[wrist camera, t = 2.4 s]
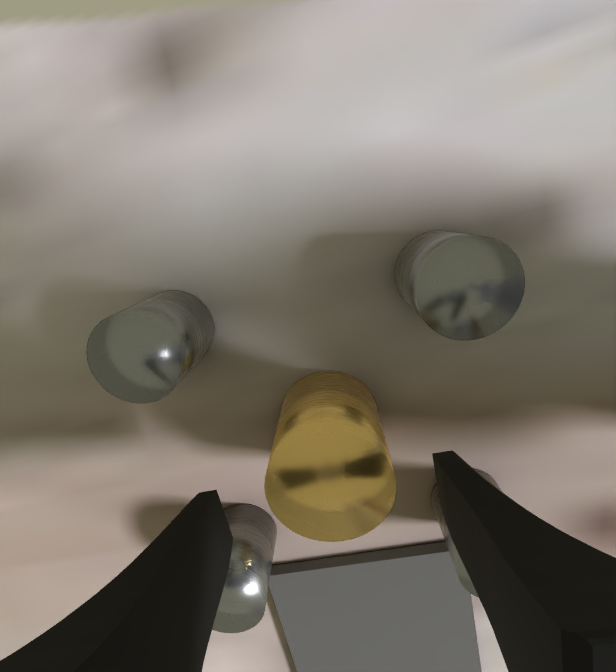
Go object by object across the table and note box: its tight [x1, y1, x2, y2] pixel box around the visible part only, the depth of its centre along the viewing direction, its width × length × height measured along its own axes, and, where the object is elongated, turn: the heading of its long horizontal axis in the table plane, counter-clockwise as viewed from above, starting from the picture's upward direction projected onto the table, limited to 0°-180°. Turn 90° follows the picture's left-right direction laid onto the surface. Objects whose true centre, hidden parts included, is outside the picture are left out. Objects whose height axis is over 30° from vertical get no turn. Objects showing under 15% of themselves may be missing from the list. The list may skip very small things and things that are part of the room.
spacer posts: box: [87, 231, 525, 633], centre depth 16 cm, size 14×14×4 cm
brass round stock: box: [265, 371, 396, 542], centre depth 15 cm, size 4×4×5 cm
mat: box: [269, 542, 482, 672], centre depth 21 cm, size 10×10×1 cm
